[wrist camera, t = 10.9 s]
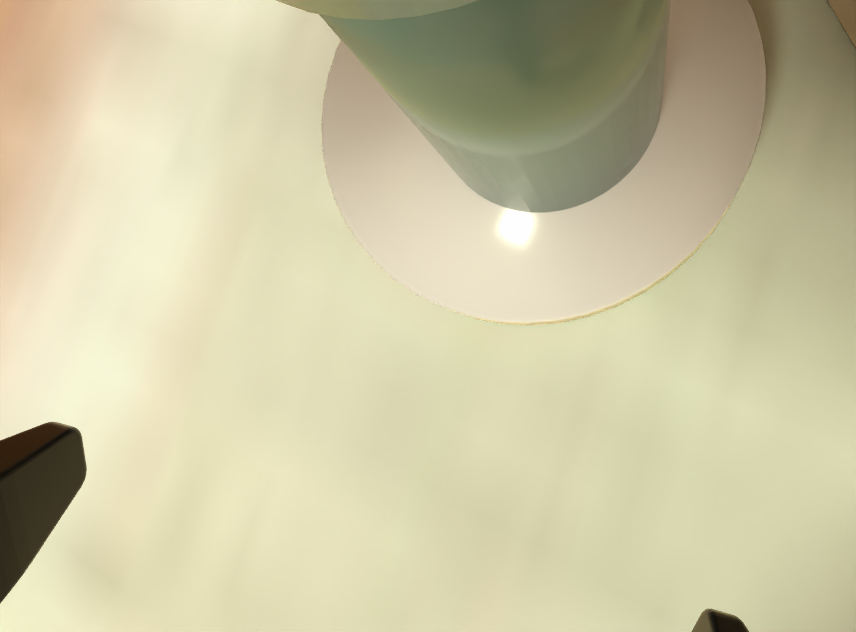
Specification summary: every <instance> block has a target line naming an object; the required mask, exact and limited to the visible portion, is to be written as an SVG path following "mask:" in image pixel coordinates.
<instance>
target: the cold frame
mask: <svg viewBox="0 0 856 632" xmlns="http://www.w3.org/2000/svg"><path fill="white" fill-rule="evenodd" d="M828 2H829V4H830V5H831V7H832V9H833V11H834V12H835V14H836V16H837V17H838V19H839V21H840V22H841V24H842V26H843V28H844V29H845V31H846V33H847V34H848V36H849V38H850V39H851V41H852V43H853V44H854V46H855V48H856V0H828Z"/></svg>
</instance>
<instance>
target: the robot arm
mask: <svg viewBox="0 0 856 632" xmlns="http://www.w3.org/2000/svg"><path fill="white" fill-rule="evenodd" d="M86 470H87V468H86V461H85V454H84V448H83V441H82V436H81V433H80V431H79V430H78V429H77V428H75V427H72V426H68V425H65V424H61V423H57V422H48V423H45V424H42V425H40V426H37V427H34V428H32V429H29V430H27V431H24V432H21V433H19V434H16V435H14V436H11V437H8V438H6V439H3V440H1V441H0V603H1V602H2V601H3V599H4V598H5V597H6V596H7V594H8V593H9V592H10V591H11V589H12V588H13V587H14V585H15V584H16V583H17V582H18V580H19V579H20V578H21V576H22V575H23V574H24V572H25V571H26V569H27V568H28V566H29V565H30V564H31V562H32V561H33V559H34V558H35V556H36V555H37V553H38V552H39V550H40V549H41V547H42V546H43V544H44V543H45V541H46V539H47V538H48V536H49V535H50V533H51V532H52V530H53V529H54V527H55V526H56V524H57V523H58V521H59V520H60V518H61V517H62V515H63V514H64V512H65V511H66V509H67V508H68V506H69V505H70V503H71V501H72V500H73V498H74V497H75V495H76V494H77V492H78V491H79V489H80V488H81V486H82V484H83V482H84V480H85V477H86ZM692 632H749V631H748V629H747V628H746V626H745V625H744V623H743V622H742V621H741V620H740V619H739V618H738V617H736V616H734V615H731V614H728V613H724V612H721V611H717V610H714V609H706V610H705V611H703V612H702V614H701V615H700V617H699V619H698V621H697V623H696V625H695V626H694V628H693V630H692Z"/></svg>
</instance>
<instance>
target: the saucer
mask: <svg viewBox="0 0 856 632" xmlns="http://www.w3.org/2000/svg"><path fill="white" fill-rule="evenodd" d="M765 99H766V66H765V58H764V50H763V42H762V39H761V35H760V32H759V28H758V25H757V21H756V18H755V14H754V12H753V10H752V8H751V5H750V3H749V1H748V0H671V3H670V15H669V27H668V39H667V51H666V64H665V76H664V88H663V100H662V108H661V113H660V119H659V122H658V125H657V128H656V131H655V134H654V136H653V138H652V140H651V142H650V144H649V147H648V148H647V150H646V152H645V153H644V155H643V156H642V158H641V159H640V161H639V162H638V163H637V164H636V166H635V167H634V168H633V169H632V170H631V171H630V173H629V174H628V175H627V176H625V177H624V178H623V179H622V180H621V181H620V182H619V183H618V184H617V185H615V186H614V187H612V188H611V189H610V190H608V191H607V192H605V193H604V194H602V195H600V196H598V197H597V198H595V199H593V200H591V201H589V202H586V203H584V204H581V205H579V206H576V207H573V208H569V209H565V210H561V211H554V212H546V213H531V212H523V211H516V210H512V209H508V208H505V207H502V206H499V205H497V204H494V203H492V202H490V201H488V200H486V199H485V198H483V197H481V196H480V195H478V194H477V193H476V192H474V191H473V190H472V189H471V188H469V187H468V186H467V185H466V184H465V183H464V182H463V181H462V180H461V178H460V177H459V176H458V175H457V174H456V173H455V172H454V171H453V169H452V168H451V167H450V166H449V165H448V164H447V162H446V161H445V160H444V159H443V158H442V157H441V155H440V154H439V153H438V152H437V151H436V150H435V148H434V147H433V146H432V145H431V144H430V143H429V141H428V140H427V139H426V138H425V137H424V136H423V134H422V133H421V132H420V131H419V130H418V129H417V127H416V126H415V125H414V124H413V123H412V122H411V120H410V119H409V118H408V117H407V116H406V115H405V113H404V112H403V111H402V110H401V109H400V108H399V106H398V105H397V104H396V103H395V102H394V101H393V100H392V98H391V97H390V96H389V95H388V94H387V93H386V91H385V90H384V89H383V88H382V87H381V86H380V84H379V83H378V82H377V81H376V80H375V79H374V77H373V76H372V75H371V74H370V73H369V72H368V70H367V69H366V68H365V67H364V66H363V65H362V63H361V62H360V61H359V60H358V59H357V58H356V56H355V55H354V54H353V53H352V52H351V51H350V49H349V48H348V47H347V46H346V45H345V44H344V42H343V41H342V40H341V41H340V44H339V46H338V48H337V51H336V54H335V57H334V60H333V63H332V66H331V69H330V72H329V76H328V81H327V86H326V91H325V95H324V102H323V114H322V146H323V155H324V161H325V167H326V173H327V177H328V180H329V184H330V187H331V190H332V193H333V197H334V200H335V202H336V204H337V206H338V208H339V211H340V213H341V215H342V217H343V219H344V221H345V223H346V225H347V226H348V228H349V229H350V231H351V233H352V234H353V236H354V237H355V239H356V240H357V242H358V243H359V245H360V246H361V247H362V248H363V249H364V251H365V252H366V253H367V254H368V255H369V256H370V258H371V259H372V260H373V261H374V262H375V263H376V264H377V265H378V266H379V267H380V268H381V269H382V270H384V271H385V272H386V273H387V274H388V275H389V276H390V277H392V278H393V279H394V280H395V281H397V282H398V283H400V284H401V285H403V286H404V287H406V288H407V289H409V290H410V291H412V292H413V293H415V294H416V295H418V296H420V297H422V298H424V299H426V300H428V301H431V302H433V303H435V304H437V305H439V306H441V307H443V308H446V309H448V310H451V311H454V312H457V313H460V314H463V315H466V316H469V317H472V318H475V319H479V320H485V321H491V322H496V323H502V324H517V325H539V324H551V323H561V322H566V321H570V320H575V319H579V318H584V317H589V316H591V315H594V314H597V313H600V312H603V311H605V310H608V309H611V308H614V307H617V306H619V305H621V304H623V303H625V302H627V301H629V300H631V299H632V298H634V297H636V296H638V295H640V294H642V293H644V292H646V291H647V290H649V289H650V288H652V287H653V286H655V285H656V284H657V283H659V282H660V281H662V280H663V279H665V278H666V277H668V276H669V275H670V274H671V273H673V272H674V271H675V270H676V269H677V268H678V267H679V266H681V265H682V264H683V263H684V262H685V261H686V260H687V259H689V258H690V257H691V256H692V255H693V254H694V253H695V251H696V250H697V249H698V248H699V247H700V246H701V245H702V243H703V242H704V241H705V240H706V239H707V238H708V237H709V235H710V234H711V233H712V232H713V231H714V229H715V228H716V226H717V225H718V223H719V222H720V220H721V219H722V217H723V216H724V214H725V213H726V211H727V210H728V208H729V207H730V205H731V203H732V201H733V199H734V197H735V195H736V193H737V191H738V188H739V186H740V184H741V182H742V180H743V178H744V176H745V174H746V172H747V170H748V168H749V166H750V163H751V160H752V157H753V154H754V151H755V148H756V145H757V142H758V139H759V136H760V131H761V126H762V120H763V114H764V109H765Z"/></svg>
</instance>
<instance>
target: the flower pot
mask: <svg viewBox="0 0 856 632" xmlns="http://www.w3.org/2000/svg"><path fill="white" fill-rule="evenodd" d="M277 1H279V2H282V3H285V4H288V5H290V6H293V7H296V8H299V9H302V10H305V11H307V12H311V13H317V14H319V15H320V16H321V17H322V18H323V19H324V20H325V22H326V23H327V24H328V25H329V26H330V27H331V28H332V30H333V31H334V32H335V33H336V34H337V35H338V37H339V38H340V39H341V40H342V41H343V42H344V44H345V45H346V46H347V47H348V48H349V49H350V51H351V52H352V53H353V54H354V55H355V56H356V58H357V59H358V60H359V61H360V62H361V63H362V65H363V66H364V67H365V68H366V69H367V70H368V72H369V73H370V74H371V75H372V76H373V77H374V79H375V80H376V81H377V82H378V83H379V84H380V86H381V87H382V88H383V89H384V90H385V91H386V93H387V94H388V95H389V96H390V97H391V98H392V100H393V101H394V102H395V103H396V104H397V105H398V106H399V108H400V109H401V110H402V111H403V112H404V113H405V115H406V116H407V117H408V118H409V119H410V120H411V122H412V123H413V124H414V125H415V126H416V127H417V129H418V130H419V131H420V132H421V133H422V134H423V136H424V137H425V138H426V139H427V140H428V141H429V143H430V144H431V145H432V146H433V147H434V148H435V150H436V151H437V152H438V153H439V154H440V155H441V157H442V158H443V159H444V160H445V161H446V162H447V164H448V165H449V166H450V167H451V168H452V169H453V171H454V172H455V173H456V174H457V175H458V176H459V177H460V178H461V180H462V181H463V182H464V183H465V184H466V185H467V186H468V187H469V188H471V189H472V190H473V191H474V192H476V193H477V194H478V195H480V196H481V197H483V198H485V199H486V200H488V201H490V202H492V203H494V204H497V205H499V206H502V207H505V208H508V209H512V210H516V211H523V212H531V213H546V212H554V211H561V210H565V209H569V208H573V207H576V206H579V205H581V204H584V203H586V202H589V201H591V200H593V199H595V198H597V197H598V196H600V195H602V194H604V193H605V192H607V191H608V190H610V189H611V188H612V187H614V186H615V185H617V184H618V183H619V182H620V181H621V180H622V179H623V178H624V177H625V176H627V175H628V174H629V173H630V171H631V170H632V169H633V168H634V167H635V166H636V164H637V163H638V162H639V161H640V159H641V158H642V156H643V155H644V153H645V152H646V150H647V148H648V147H649V144H650V142H651V140H652V138H653V136H654V134H655V131H656V128H657V125H658V122H659V119H660V113H661V108H662V100H663V88H664V76H665V64H666V51H667V39H668V27H669V15H670V3H671V0H277Z"/></svg>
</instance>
